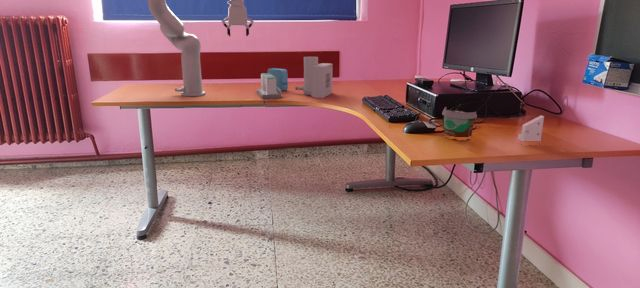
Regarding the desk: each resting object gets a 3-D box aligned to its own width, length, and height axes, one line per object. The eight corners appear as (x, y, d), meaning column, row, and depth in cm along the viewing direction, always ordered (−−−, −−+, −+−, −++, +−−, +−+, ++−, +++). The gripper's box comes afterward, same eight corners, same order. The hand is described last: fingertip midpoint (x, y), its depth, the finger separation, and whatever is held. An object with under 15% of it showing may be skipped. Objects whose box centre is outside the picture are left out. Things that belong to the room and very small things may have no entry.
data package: (287, 90, 249) (287, 69, 246) (282, 91, 246) (281, 70, 243) (273, 88, 257) (273, 67, 254) (268, 89, 254) (267, 68, 250)
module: (265, 92, 230) (264, 76, 227) (262, 90, 237) (262, 74, 235) (274, 92, 231) (274, 76, 229) (271, 90, 238) (271, 74, 236)
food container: (433, 136, 154) (435, 109, 152) (442, 133, 159) (444, 106, 156) (465, 143, 146) (468, 114, 143) (474, 140, 150) (477, 111, 147)
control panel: (323, 98, 227) (323, 59, 221) (290, 95, 232) (289, 57, 227) (332, 93, 241) (333, 56, 236) (301, 91, 247) (301, 55, 242)
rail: (262, 98, 224) (261, 78, 221) (256, 92, 242) (256, 73, 239) (281, 97, 227) (281, 77, 224) (274, 91, 245) (274, 72, 242)
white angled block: (553, 138, 143) (544, 116, 141) (525, 153, 144) (515, 131, 142) (547, 135, 147) (538, 113, 145) (520, 150, 148) (510, 128, 146)
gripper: (221, 3, 231) (222, 36, 236) (253, 3, 236) (254, 36, 240) (220, 3, 238) (222, 35, 243) (252, 4, 243) (253, 35, 247)
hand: (238, 36), depth 242 cm, fingers open, 9 cm apart
